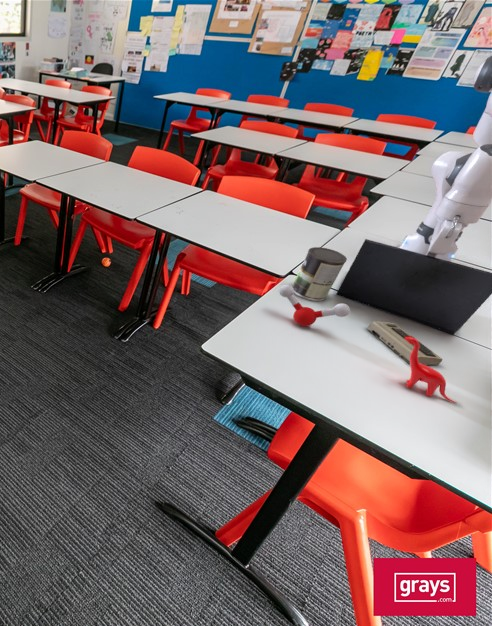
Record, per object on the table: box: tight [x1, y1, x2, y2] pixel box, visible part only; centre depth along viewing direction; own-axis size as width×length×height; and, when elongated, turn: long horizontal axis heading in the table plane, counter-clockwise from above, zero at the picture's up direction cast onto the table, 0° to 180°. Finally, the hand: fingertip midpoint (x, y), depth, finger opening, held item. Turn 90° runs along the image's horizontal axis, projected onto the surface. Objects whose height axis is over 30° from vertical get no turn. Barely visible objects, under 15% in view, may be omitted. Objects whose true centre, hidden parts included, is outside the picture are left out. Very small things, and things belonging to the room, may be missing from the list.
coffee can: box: [291, 246, 348, 302], centre depth 134 cm, size 10×10×14 cm
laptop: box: [335, 291, 457, 336], centre depth 135 cm, size 21×30×2 cm
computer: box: [367, 320, 444, 366], centre depth 115 cm, size 16×8×3 cm, turn 4°
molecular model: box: [278, 284, 351, 327], centre depth 120 cm, size 18×6×10 cm, turn 46°
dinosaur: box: [405, 336, 457, 404], centre depth 98 cm, size 4×15×12 cm, turn 50°
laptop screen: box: [337, 238, 492, 333], centre depth 120 cm, size 21×30×1 cm
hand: (428, 258), depth 118 cm, fingers closed
